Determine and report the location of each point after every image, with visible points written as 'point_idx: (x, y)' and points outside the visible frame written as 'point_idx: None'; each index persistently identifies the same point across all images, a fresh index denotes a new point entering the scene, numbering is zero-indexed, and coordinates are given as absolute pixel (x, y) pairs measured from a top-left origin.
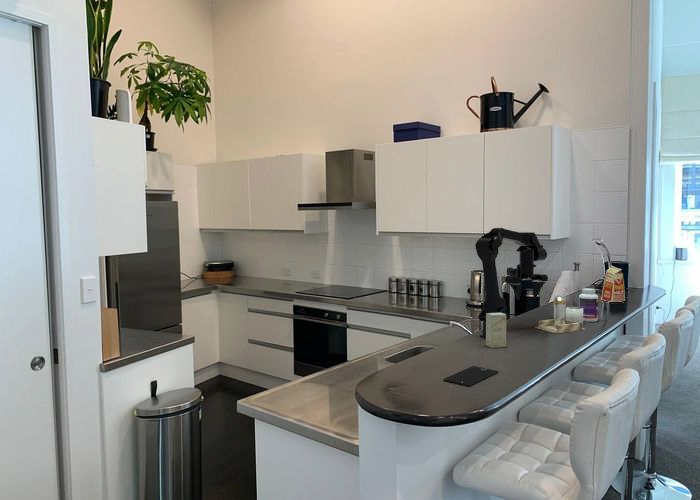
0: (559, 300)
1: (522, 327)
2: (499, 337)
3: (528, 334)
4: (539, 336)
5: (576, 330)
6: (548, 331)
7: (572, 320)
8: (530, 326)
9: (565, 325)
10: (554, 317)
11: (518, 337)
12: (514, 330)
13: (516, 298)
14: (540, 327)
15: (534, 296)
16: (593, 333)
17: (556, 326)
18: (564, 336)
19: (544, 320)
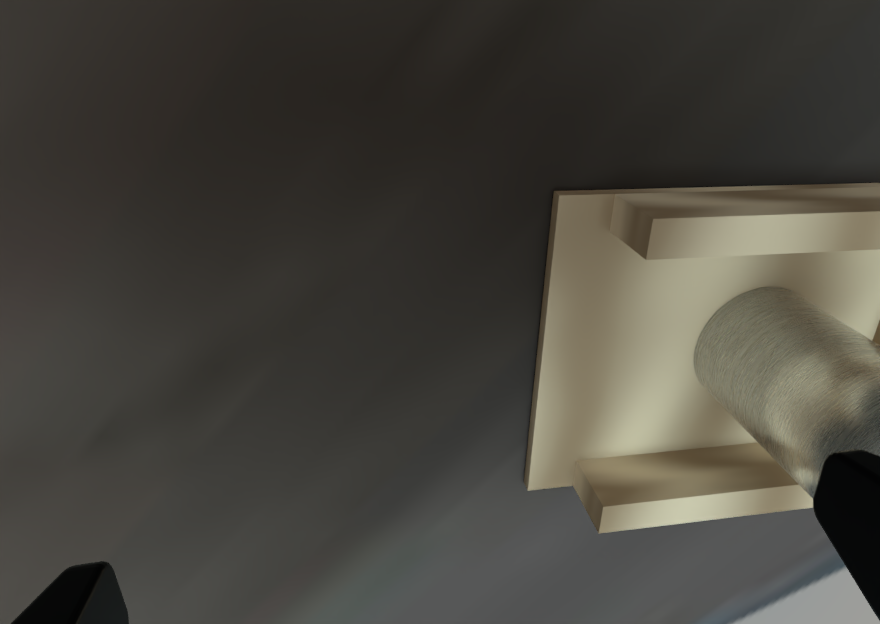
0: None
1: (441, 60)
2: None
3: (228, 431)
4: (282, 532)
5: None
6: (533, 403)
7: None
8: (594, 57)
9: (692, 517)
10: (782, 401)
11: (14, 511)
12: (192, 183)
13: (39, 596)
14: (593, 245)
15: (856, 521)
16: (798, 560)
17: (597, 498)
18: (503, 585)
19: (741, 230)
